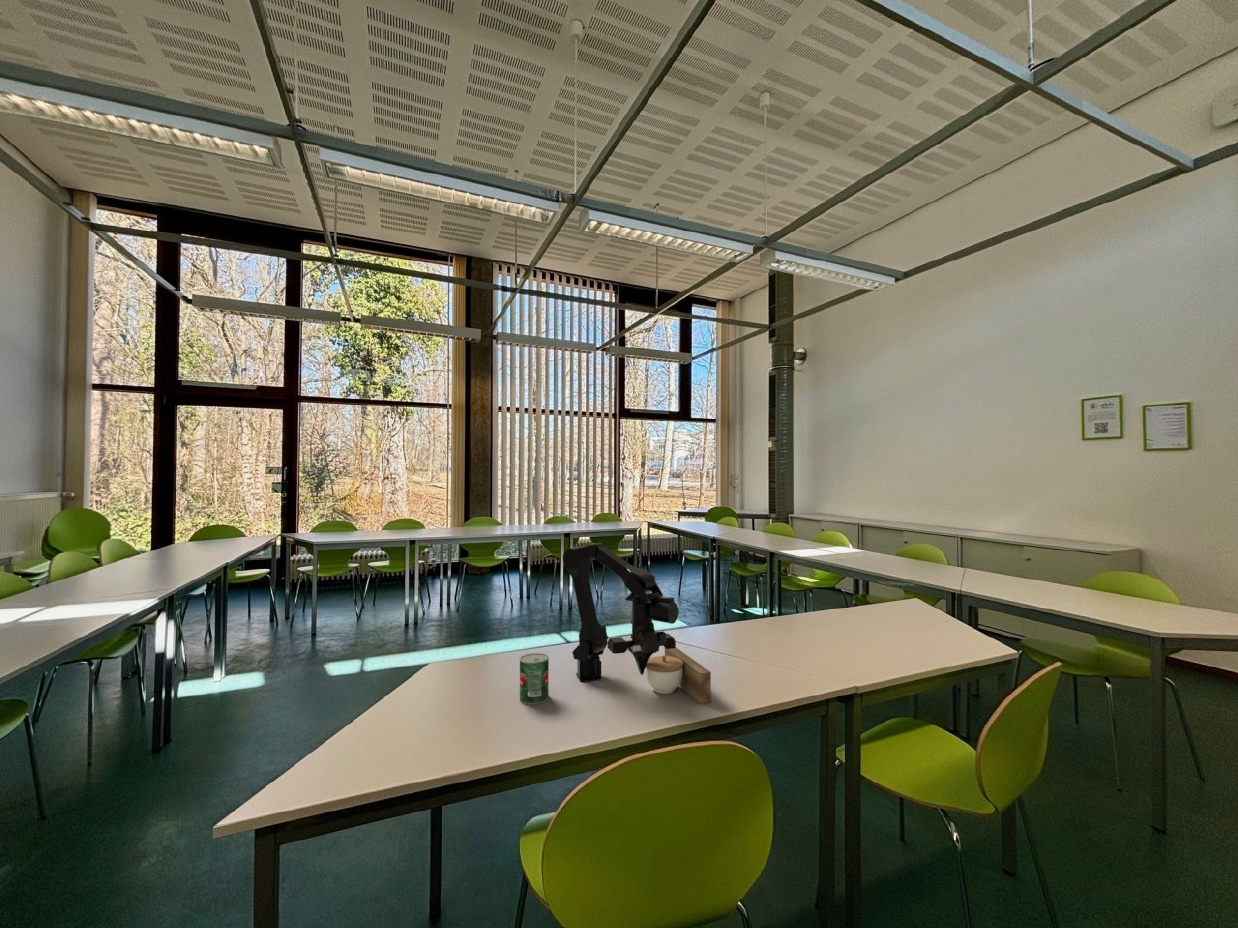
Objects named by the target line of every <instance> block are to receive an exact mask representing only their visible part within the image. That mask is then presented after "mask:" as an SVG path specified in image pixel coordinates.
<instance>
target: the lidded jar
mask: <svg viewBox="0 0 1238 928" xmlns="http://www.w3.org/2000/svg"><path fill="white" fill-rule="evenodd" d="M682 673H683V662H682V661H681V660H680V659H678V658H676V657H671V656H665V654H664V655H655V656H650V658H649V660H648V662H647V665H646V668H645V674H646V679H647V683H648V684H649V686H650V687H651V688H652V689H653V691H654V692H656V693H657V694H661V695H662V694H664V695H665V694H667V695H668V694H672V693H674V692H675V691H676V689H678V687H680V685H679V684H680V682H681V680H682Z"/></svg>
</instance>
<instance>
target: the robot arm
mask: <svg viewBox="0 0 1238 928" xmlns="http://www.w3.org/2000/svg"><path fill="white" fill-rule="evenodd" d="M592 559H595V560H596V561H598V562H599V563H600V564H602V565H603V566H604V567H606V568H607V569H609V570H610V571H611V572H612V573H613V574H615V575H616V576H617V577H619V578H620V579H621V580H622V582H623V584H624V586H625V588H626V589H628V590H629V592H630V593H629V595H628V596H626V597H625V600H626V601H628V602H629V601H630V602H631V619H630V624H631V633H630V639H629V640H625V639H624V638H623V637H621V636H619V637H609V636H608V633H607V627H606V625H601V624H600V623H599V621H598V618H597V612H596V608H595V603H594V597H593V593H592V592H593V591H592V588H591V582H590V577H589V571H590V568H591V560H592ZM562 563H563V564H564V567H565V570H566V572H567V574H569V575H570V577H571V579H572V582H573V588H574V593H575V599H576V603H577V608H578V614H579V619H580V626H581V627H580V629H579V634H578V643H579V644H578V645H577V646H576V647H575V648H574V649H573V650H572V656H573V659H574V660H577V661H576V662H577V669H576V670H577V672H575V675H576V677H577V679H578V680H579V681H580V682H590V681H599V680H602V661H601V659H600V658H601V657H600V656H602V655H603V654H604V650H605V649H606V648H607V649H608V650H609V651H610V652H611V653H612V654H615V655H617V654H625V653H626V652H627V651H629V652H630V653H631V654H632V656H633V658H634V659H635V663H636V666H637V669H638V671H639V674H640V675H641V676H644V673H645V672H646V665H647V662H648V660H649V658H651V657H652V655H653V654H655V653H657V652H659V651H660V647H664V649H665V648H666V649H673V648H677V641H676V638H675V637H673V636H672V635H671V634H670V633H666V632H665V631H664V630H663V631H655V626H654V623H653V621H655V622H661V623H666V624H670V625H671V624H672V625H673V624H675V623H676V622H677V620H678V616H679V614H680V613H679V610H680V609H679V608H678V604H677V603H676V602H675V597H671V596H669V597H666V596H664V594H663V592H662V590H661V589H660V587H659V586H658V583H657V582H656V578H655V577H656V576H654V575H653V573H651V572H650V571H647V570H645V569H643V568H640V567H636V566H633V565H631V564H630V563H629V562H628V561H626V560H624V559H623V558H621V557H620V556H619V555H618V554H616V553H614V552H613V551H612V550H610V549H609V548H608V547H606V545H605V544H604V543H601V542H597V543H591V544H589V545H586V546H577V547H571V548H570V547H569V548H567V549H566V550H564V552H563V554H562Z"/></svg>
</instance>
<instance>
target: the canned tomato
mask: <svg viewBox="0 0 1238 928" xmlns="http://www.w3.org/2000/svg"><path fill="white" fill-rule="evenodd" d="M549 658H550V656H549V655H547V654H545V653H542V652H541V653H539V652H538V653H537V652H535V653H533V652H532V653H528V654H525V655H522V656H521V657H520V658H519V701H520V702H521V703H522V704H525V705H539V704H543V703H545V702H546V701H548V699H549V697H550V696H549V691H550V690H549V689H550V688H549V677H550V675H549V660H550V659H549Z"/></svg>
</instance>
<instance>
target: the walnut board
mask: <svg viewBox="0 0 1238 928" xmlns="http://www.w3.org/2000/svg"><path fill="white" fill-rule="evenodd" d="M664 656H671V657H676V658H678V659H680V660H681V661H682V662H683V673H682V680H681V682H680V684H679V687H681V688H682V689H683V690H684V691H686V693H688V694H689V695H690V696H691V697H692V698H693V699H694V700H696V702H698V703H699V704H701V705H702V704H703V705H704V704H710V703H712V688H711V687H712V686H711V685H712V683H711V682H712V681H711V678H712V677H711V675H712V674H711V671H710V670H708V669H707V668H706V667H705V666H703V665H702V664H700V663H698V662H697V660H694V659H693V658H692V657H690V656H688V655H687V654H686V653H685V652H683V651H682V650H681V649H679V648H678V647H676V648H673V649H666V648H665V647H664Z"/></svg>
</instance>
